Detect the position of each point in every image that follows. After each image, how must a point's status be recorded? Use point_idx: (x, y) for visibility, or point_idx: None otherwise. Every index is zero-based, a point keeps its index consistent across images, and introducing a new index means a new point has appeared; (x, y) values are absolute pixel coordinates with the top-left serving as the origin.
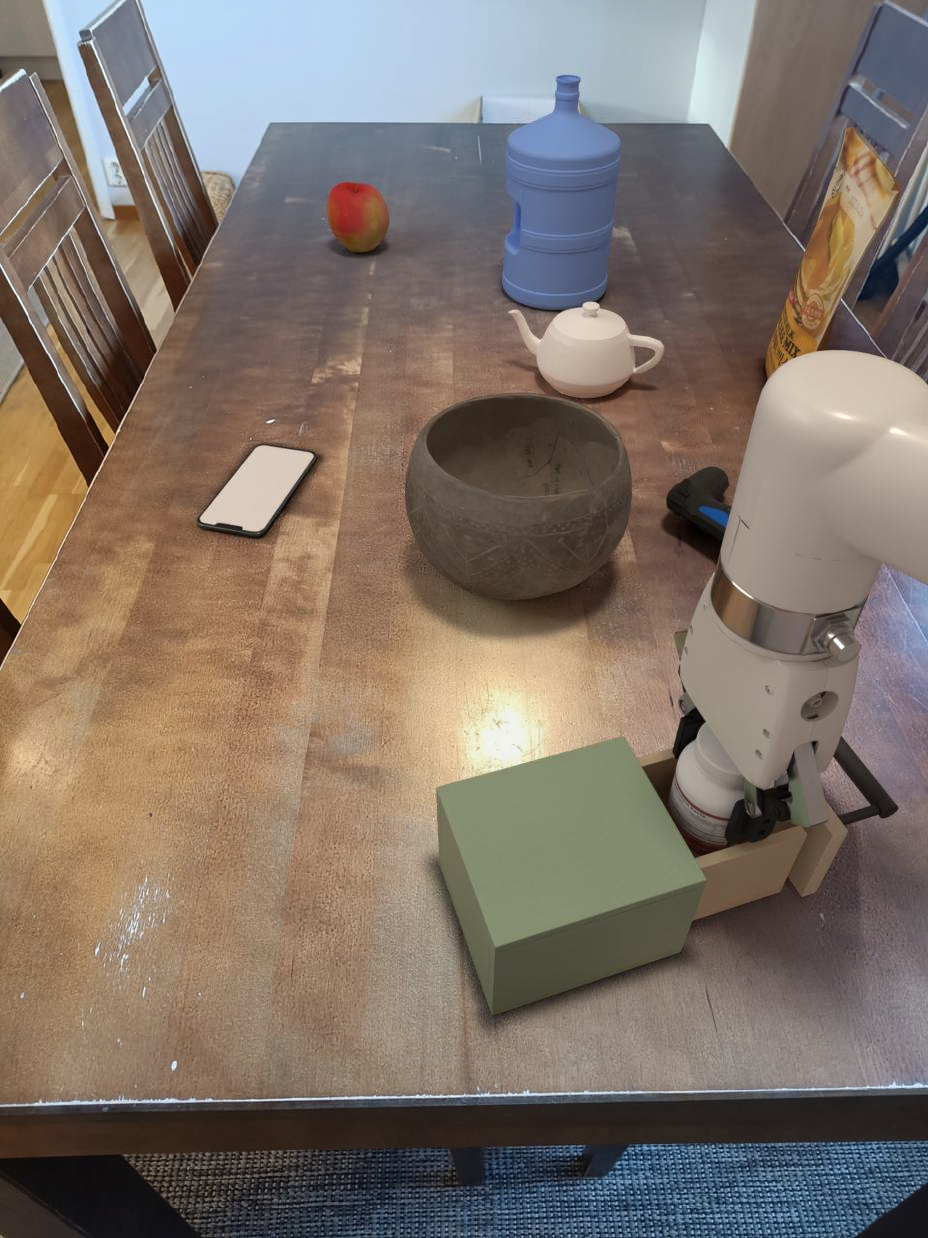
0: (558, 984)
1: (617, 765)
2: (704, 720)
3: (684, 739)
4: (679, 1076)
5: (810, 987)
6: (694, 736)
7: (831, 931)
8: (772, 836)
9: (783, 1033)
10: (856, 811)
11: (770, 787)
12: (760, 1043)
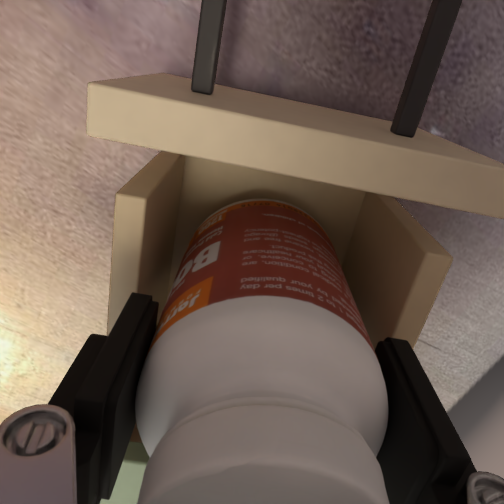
0: None
1: (114, 493)
2: (106, 463)
3: (126, 449)
4: (444, 402)
5: (488, 226)
6: (128, 426)
7: (461, 138)
8: (404, 323)
9: (497, 293)
10: (440, 11)
11: (375, 385)
12: (484, 321)
